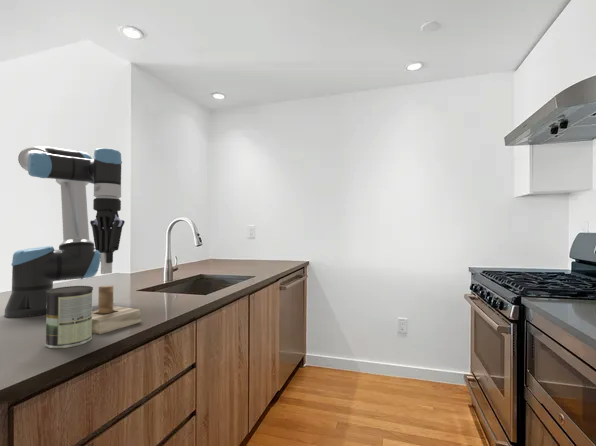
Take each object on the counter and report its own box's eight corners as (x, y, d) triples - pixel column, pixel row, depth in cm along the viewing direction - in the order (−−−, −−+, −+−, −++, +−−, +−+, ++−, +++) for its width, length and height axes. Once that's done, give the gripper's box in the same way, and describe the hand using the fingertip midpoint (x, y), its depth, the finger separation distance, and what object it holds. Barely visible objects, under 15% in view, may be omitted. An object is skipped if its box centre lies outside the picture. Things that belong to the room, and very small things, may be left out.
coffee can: (35, 349, 83) (36, 292, 83) (61, 336, 93) (61, 285, 93) (78, 348, 84) (79, 292, 84) (99, 335, 94) (100, 285, 94)
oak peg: (107, 322, 107) (107, 285, 107) (116, 324, 105) (116, 286, 105) (94, 326, 103) (95, 287, 103) (103, 327, 101) (104, 288, 101)
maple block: (72, 329, 99) (72, 315, 100) (115, 317, 112) (115, 306, 112) (99, 334, 95) (99, 320, 95) (140, 322, 107) (140, 309, 107)
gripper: (82, 198, 104) (81, 273, 103) (110, 196, 99) (109, 276, 98) (104, 200, 111) (103, 271, 110) (132, 198, 105) (131, 273, 105)
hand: (106, 273), depth 104 cm, fingers closed
